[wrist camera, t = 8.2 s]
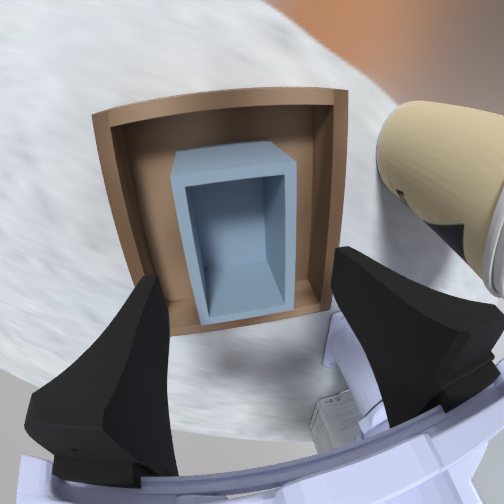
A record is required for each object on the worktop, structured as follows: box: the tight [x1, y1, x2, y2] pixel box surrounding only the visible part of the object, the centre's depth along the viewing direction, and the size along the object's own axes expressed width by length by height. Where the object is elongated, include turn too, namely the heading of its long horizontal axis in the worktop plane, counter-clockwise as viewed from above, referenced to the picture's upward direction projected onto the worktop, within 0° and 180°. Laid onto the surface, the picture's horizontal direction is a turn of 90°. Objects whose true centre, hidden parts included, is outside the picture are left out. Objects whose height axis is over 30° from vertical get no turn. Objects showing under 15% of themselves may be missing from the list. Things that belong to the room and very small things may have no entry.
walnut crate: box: [92, 87, 348, 337], centre depth 17 cm, size 12×14×4 cm
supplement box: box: [309, 391, 363, 454], centre depth 30 cm, size 10×9×17 cm
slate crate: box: [170, 139, 297, 325], centre depth 15 cm, size 5×8×5 cm, turn 4°
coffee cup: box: [376, 101, 504, 299], centre depth 13 cm, size 9×9×12 cm
